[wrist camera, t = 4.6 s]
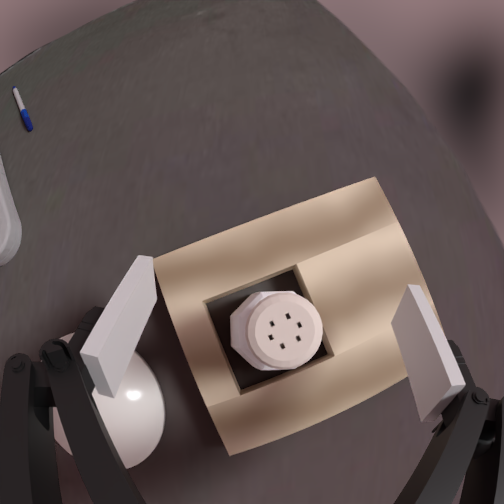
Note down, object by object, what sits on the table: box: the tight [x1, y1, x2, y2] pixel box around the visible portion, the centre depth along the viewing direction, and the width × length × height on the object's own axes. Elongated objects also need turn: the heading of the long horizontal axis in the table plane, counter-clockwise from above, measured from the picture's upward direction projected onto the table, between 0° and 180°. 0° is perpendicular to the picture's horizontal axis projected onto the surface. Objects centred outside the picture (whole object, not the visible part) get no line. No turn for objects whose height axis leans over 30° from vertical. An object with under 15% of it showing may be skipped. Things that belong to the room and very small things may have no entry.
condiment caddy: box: [153, 177, 445, 456], centre depth 21 cm, size 14×17×2 cm
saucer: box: [41, 333, 166, 469], centre depth 20 cm, size 11×11×1 cm
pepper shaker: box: [230, 291, 323, 370], centre depth 16 cm, size 5×5×11 cm
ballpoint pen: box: [13, 86, 33, 131], centre depth 26 cm, size 10×1×1 cm, turn 41°
